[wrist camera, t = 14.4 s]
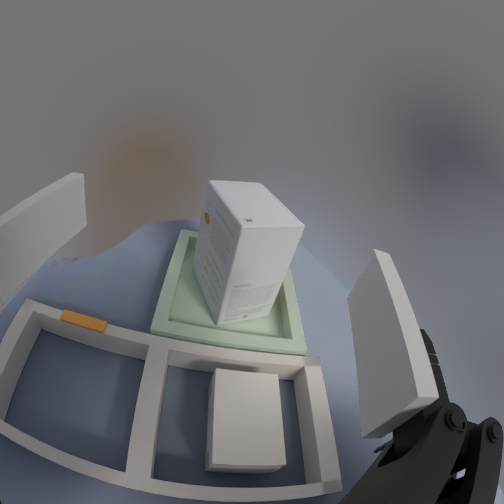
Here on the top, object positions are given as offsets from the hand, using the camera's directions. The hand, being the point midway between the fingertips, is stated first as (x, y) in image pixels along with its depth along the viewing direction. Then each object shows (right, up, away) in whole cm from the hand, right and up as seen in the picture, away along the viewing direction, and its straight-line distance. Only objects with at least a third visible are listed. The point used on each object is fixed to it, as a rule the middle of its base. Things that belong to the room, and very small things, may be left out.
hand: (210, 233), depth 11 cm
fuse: (+1, -14, +6) cm, 15 cm away
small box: (-1, -5, +17) cm, 18 cm away
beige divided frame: (-6, -13, +5) cm, 15 cm away
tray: (-1, -6, +17) cm, 18 cm away
